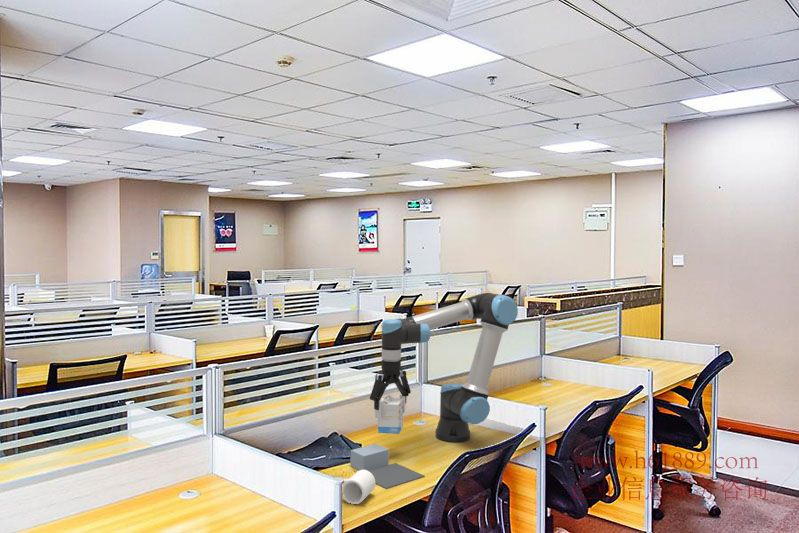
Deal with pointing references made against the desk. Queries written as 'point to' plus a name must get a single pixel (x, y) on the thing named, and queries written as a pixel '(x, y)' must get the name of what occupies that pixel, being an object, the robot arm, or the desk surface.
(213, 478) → the desk surface
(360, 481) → the mug
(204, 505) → the desk surface
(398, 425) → the ink box
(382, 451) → the step
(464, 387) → the robot arm
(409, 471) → the mat
